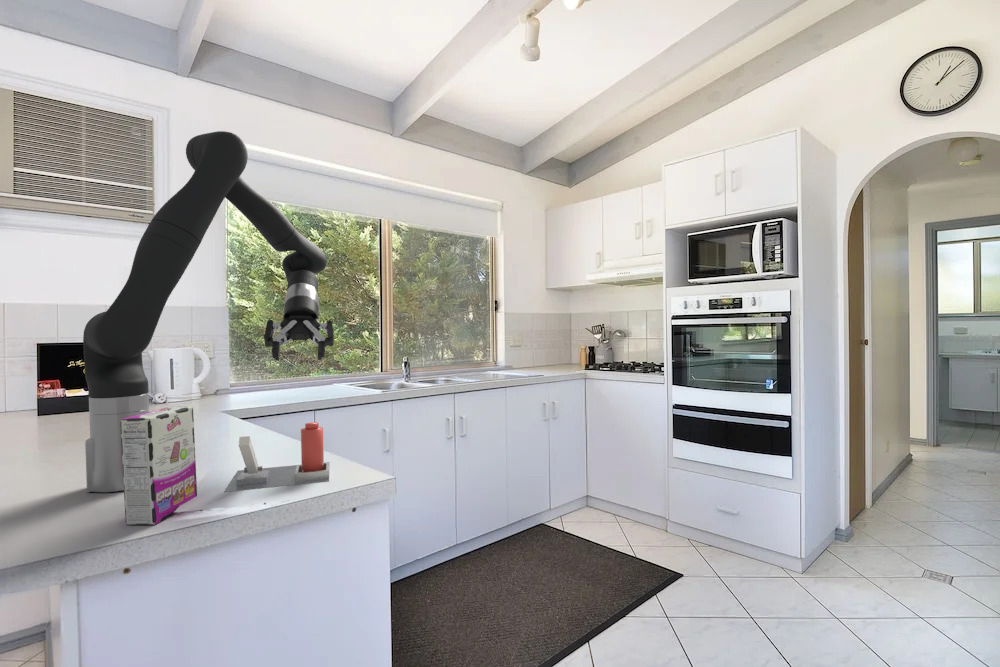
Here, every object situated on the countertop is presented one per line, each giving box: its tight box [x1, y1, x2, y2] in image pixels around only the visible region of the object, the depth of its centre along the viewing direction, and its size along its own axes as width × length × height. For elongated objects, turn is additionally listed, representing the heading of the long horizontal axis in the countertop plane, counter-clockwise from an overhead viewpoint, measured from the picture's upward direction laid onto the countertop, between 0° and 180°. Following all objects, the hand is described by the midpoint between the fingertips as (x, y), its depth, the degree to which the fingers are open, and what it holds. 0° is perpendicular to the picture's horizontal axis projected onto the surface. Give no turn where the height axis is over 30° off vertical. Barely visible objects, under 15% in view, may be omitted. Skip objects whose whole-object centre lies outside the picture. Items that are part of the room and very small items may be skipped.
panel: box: [223, 461, 330, 493], centre depth 102 cm, size 18×14×2 cm
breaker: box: [238, 435, 263, 474], centre depth 95 cm, size 3×2×12 cm
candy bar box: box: [120, 405, 198, 526], centre depth 85 cm, size 11×5×16 cm, turn 179°
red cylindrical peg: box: [300, 421, 325, 472], centre depth 102 cm, size 4×4×10 cm
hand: (298, 357), depth 113 cm, fingers open, 8 cm apart
